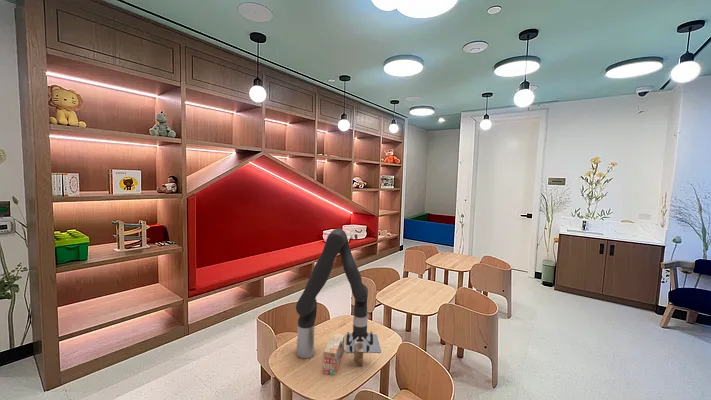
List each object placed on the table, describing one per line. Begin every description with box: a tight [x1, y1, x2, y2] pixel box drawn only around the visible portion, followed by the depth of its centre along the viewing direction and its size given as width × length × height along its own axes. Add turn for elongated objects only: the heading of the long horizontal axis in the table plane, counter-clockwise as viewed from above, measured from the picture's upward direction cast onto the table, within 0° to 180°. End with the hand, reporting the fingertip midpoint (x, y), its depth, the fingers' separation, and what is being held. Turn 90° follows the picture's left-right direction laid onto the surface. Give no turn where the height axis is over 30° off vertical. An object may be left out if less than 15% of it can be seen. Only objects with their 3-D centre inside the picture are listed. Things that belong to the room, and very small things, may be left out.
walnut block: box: [353, 341, 364, 368], centre depth 156 cm, size 4×7×10 cm, turn 4°
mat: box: [344, 333, 382, 354], centre depth 173 cm, size 20×18×1 cm
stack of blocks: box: [322, 333, 345, 376], centre depth 156 cm, size 21×6×12 cm, turn 170°
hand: (359, 351), depth 155 cm, fingers open, 8 cm apart
